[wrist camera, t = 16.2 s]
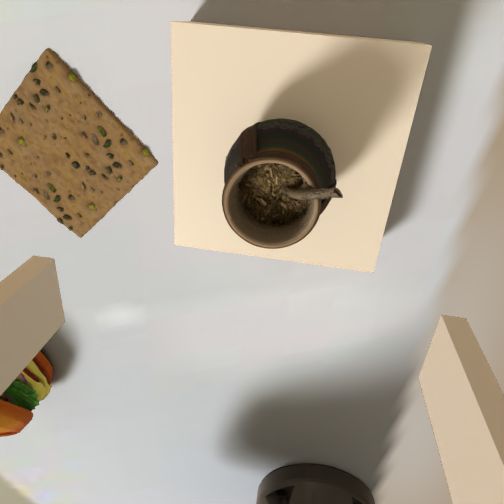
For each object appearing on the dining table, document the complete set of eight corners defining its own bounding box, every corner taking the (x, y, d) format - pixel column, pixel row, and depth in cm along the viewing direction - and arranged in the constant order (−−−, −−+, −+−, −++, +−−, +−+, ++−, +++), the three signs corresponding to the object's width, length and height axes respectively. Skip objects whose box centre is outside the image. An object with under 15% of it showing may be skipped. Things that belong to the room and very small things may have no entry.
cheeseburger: (59, 337, 48) (6, 422, 40) (71, 383, 55) (28, 461, 48) (-27, 315, 48) (-95, 395, 40) (-4, 363, 55) (-58, 438, 48)
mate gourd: (213, 148, 30) (166, 199, 21) (302, 83, 27) (288, 113, 18) (270, 225, 32) (248, 300, 24) (359, 173, 29) (370, 237, 21)
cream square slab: (367, 243, 37) (373, 272, 33) (191, 219, 39) (174, 244, 34) (416, 41, 29) (432, 45, 25) (192, 21, 31) (170, 21, 26)
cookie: (83, 239, 41) (78, 243, 40) (-21, 143, 38) (-29, 146, 37) (162, 162, 36) (159, 165, 35) (50, 44, 33) (42, 44, 32)
